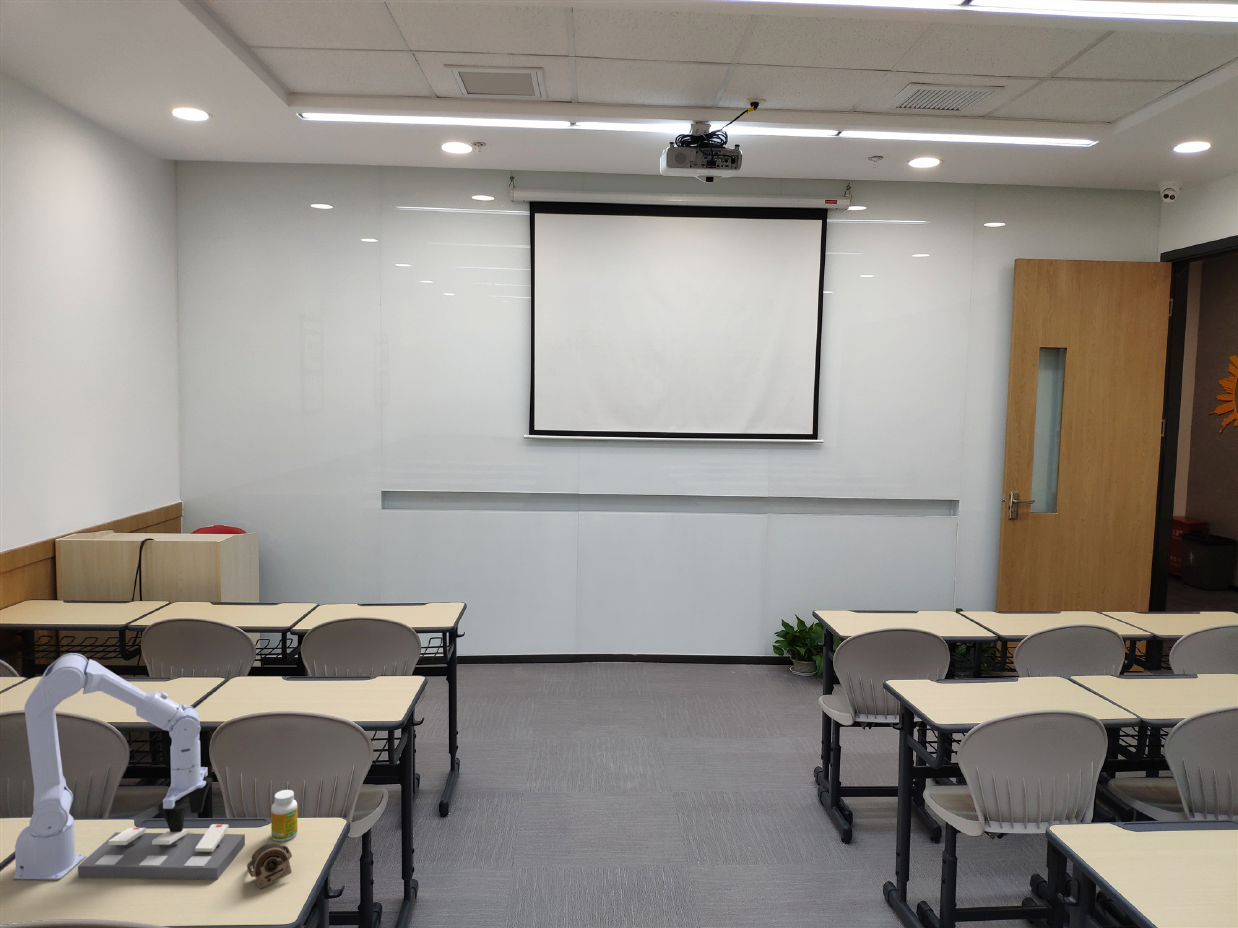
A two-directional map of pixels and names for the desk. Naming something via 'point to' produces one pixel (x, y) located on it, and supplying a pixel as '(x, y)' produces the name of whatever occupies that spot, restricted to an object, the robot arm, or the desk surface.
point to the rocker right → (212, 838)
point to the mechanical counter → (270, 864)
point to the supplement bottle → (284, 816)
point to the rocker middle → (169, 837)
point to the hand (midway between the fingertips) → (186, 822)
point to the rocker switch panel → (161, 858)
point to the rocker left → (126, 836)
